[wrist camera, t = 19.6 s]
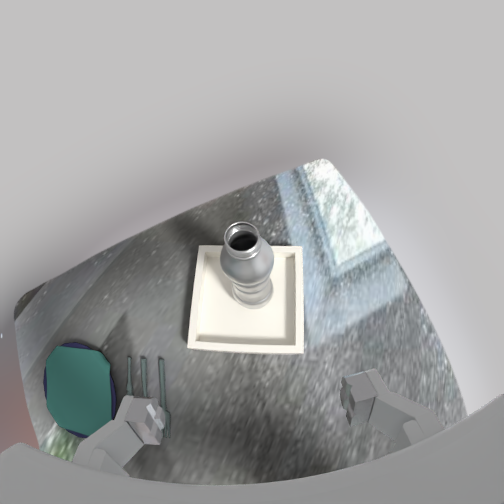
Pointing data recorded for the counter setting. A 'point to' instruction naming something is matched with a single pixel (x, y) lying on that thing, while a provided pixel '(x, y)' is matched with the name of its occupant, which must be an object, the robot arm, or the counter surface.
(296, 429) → the counter surface
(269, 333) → the ceramic dish
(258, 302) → the plastic bottle
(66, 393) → the cutlery set
